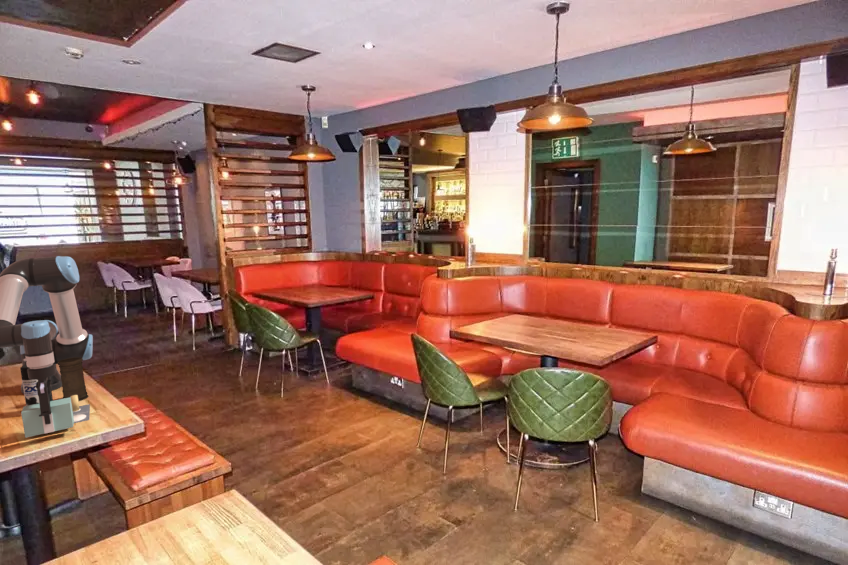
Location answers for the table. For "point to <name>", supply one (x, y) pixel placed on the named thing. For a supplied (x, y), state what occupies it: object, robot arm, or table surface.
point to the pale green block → (59, 413)
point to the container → (72, 378)
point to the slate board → (79, 410)
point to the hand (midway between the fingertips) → (50, 428)
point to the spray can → (29, 387)
